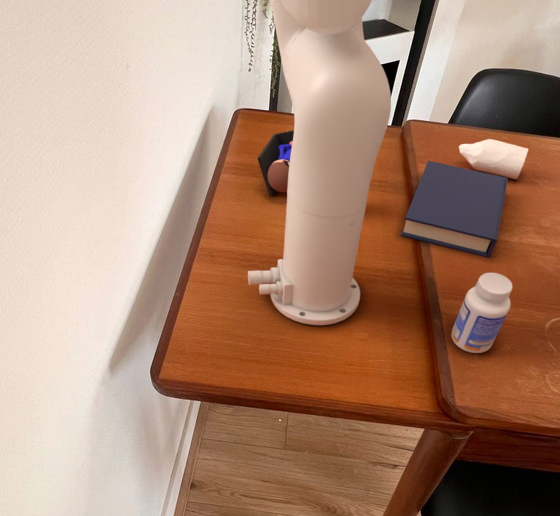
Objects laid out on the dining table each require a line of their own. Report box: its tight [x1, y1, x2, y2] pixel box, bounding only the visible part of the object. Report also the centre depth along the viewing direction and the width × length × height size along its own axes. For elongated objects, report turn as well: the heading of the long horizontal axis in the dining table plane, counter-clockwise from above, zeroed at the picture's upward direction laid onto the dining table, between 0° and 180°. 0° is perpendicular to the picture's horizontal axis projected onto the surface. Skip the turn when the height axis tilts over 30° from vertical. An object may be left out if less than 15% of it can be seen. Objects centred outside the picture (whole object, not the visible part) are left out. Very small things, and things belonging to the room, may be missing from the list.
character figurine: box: [257, 129, 294, 197], centre depth 92 cm, size 8×7×15 cm
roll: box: [458, 138, 529, 180], centre depth 98 cm, size 6×12×6 cm, turn 67°
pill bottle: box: [451, 272, 513, 354], centre depth 66 cm, size 5×5×10 cm
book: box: [400, 160, 509, 258], centre depth 89 cm, size 20×14×3 cm
